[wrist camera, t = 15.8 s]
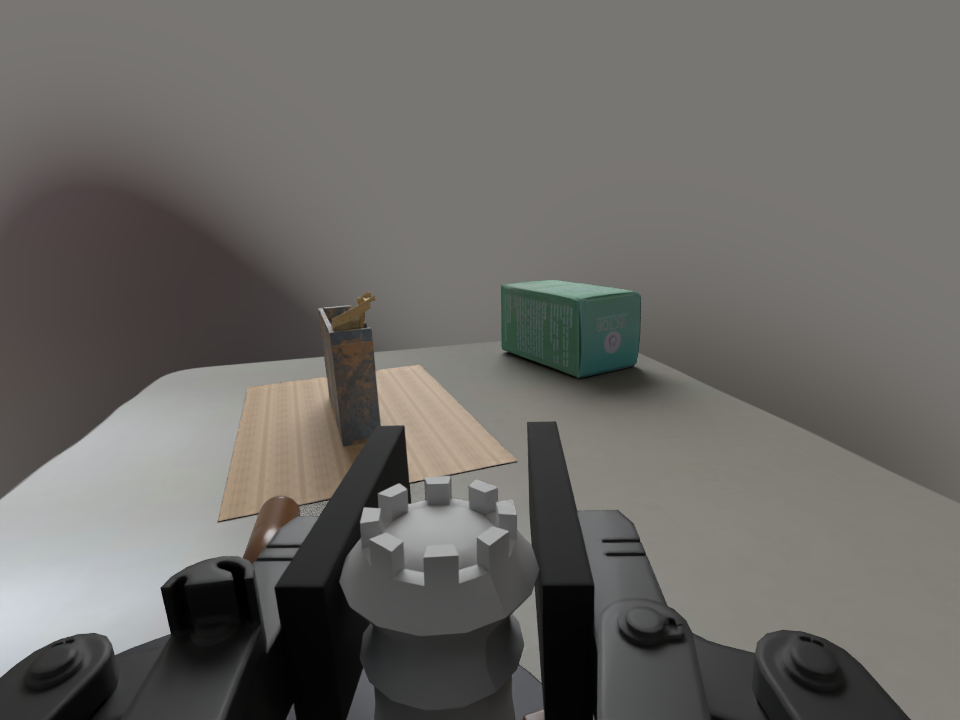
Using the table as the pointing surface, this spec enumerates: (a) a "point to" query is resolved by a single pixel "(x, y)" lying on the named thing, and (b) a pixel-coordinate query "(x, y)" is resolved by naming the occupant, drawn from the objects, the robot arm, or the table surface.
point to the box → (571, 325)
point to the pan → (363, 704)
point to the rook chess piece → (440, 602)
